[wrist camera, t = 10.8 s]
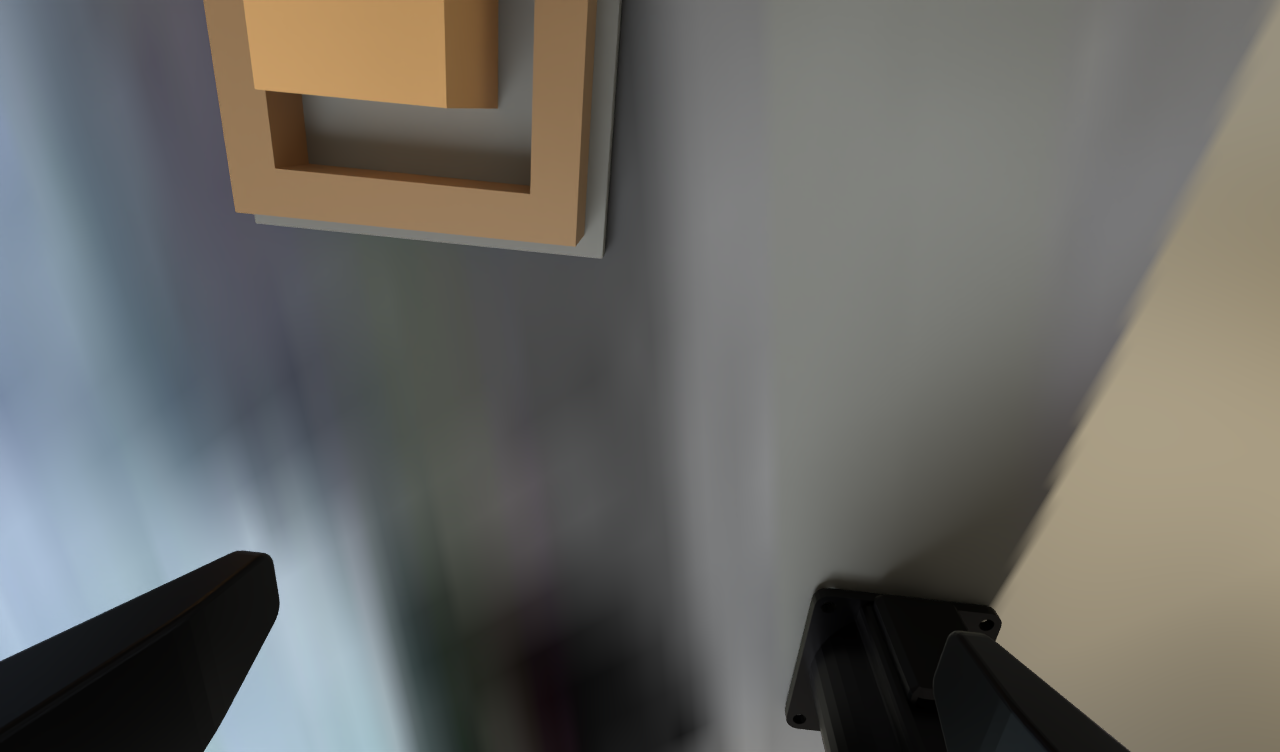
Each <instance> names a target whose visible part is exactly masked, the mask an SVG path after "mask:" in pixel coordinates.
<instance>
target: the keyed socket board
mask: <svg viewBox="0 0 1280 752" xmlns="http://www.w3.org/2000/svg"><path fill="white" fill-rule="evenodd" d="M203 1H204V7H205V14H206V21H207V27H208V34H209V40H210V47H211V54H212V60H213V67H214V73H215V80H216V86H217V93H218V100H219V106H220V113H221V119H222V126H223V133H224V139H225V146H226V152H227V159H228V165H229V172H230V179H231V185H232V192H233V198H234V205H235V211H236V212H239V213H249V214H254V215H255V222H256V223H257V224H267V225H277V226H287V227H297V228H306V229H316V230H326V231H336V232H346V233H355V234H365V235H375V236H385V237H395V238H404V239H414V240H424V241H434V242H444V243H453V244H463V245H473V246H483V247H493V248H502V249H512V250H522V251H532V252H542V253H551V254H561V255H571V256H581V257H590V258H600V259H602V258H603V256H604V254H605V239H606V225H607V210H608V196H609V181H610V166H611V152H612V137H613V123H614V108H615V93H616V79H617V64H618V50H619V35H620V20H621V6H622V0H498V109H484V108H439V107H429V106H419V105H409V104H399V103H389V102H379V101H368V100H358V99H348V98H338V97H328V96H318V95H308V94H297V93H287V92H277V91H267V90H257V89H255V88H254V80H253V72H252V65H251V57H250V49H249V42H248V34H247V26H246V19H245V11H244V3H243V0H203Z"/></svg>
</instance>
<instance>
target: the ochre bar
mask: <svg viewBox="0 0 1280 752" xmlns="http://www.w3.org/2000/svg"><path fill="white" fill-rule="evenodd" d="M243 3H244V11H245V19H246V26H247V34H248V42H249V49H250V57H251V65H252V72H253V80H254V88H255V89H257V90H267V91H277V92H287V93H297V94H308V95H318V96H328V97H338V98H348V99H358V100H368V101H379V102H389V103H399V104H409V105H419V106H429V107H439V108H484V109H498V0H243Z"/></svg>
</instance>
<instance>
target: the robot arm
mask: <svg viewBox="0 0 1280 752" xmlns="http://www.w3.org/2000/svg"><path fill="white" fill-rule="evenodd" d="M826 602H832V603H831V604H829V605H823V604H824V603H826ZM279 604H280V602H279V594H278V588H277V582H276V576H275V570H274V564H273V560H272V558H271V557H270V556H269V555H268V554H266V553H260V552H251V551H235V552H232V553H230V554H228V555H226V556H224V557H221V558H219V559H217V560H215V561H213V562H211V563H209V564H206V565H204V566H202V567H200V568H198V569H196V570H194V571H192V572H189V573H187V574H185V575H183V576H181V577H179V578H177V579H175V580H172V581H170V582H168V583H166V584H164V585H162V586H160V587H158V588H155V589H153V590H151V591H149V592H147V593H145V594H143V595H140V596H138V597H136V598H134V599H132V600H130V601H128V602H126V603H123V604H121V605H119V606H117V607H115V608H113V609H111V610H108V611H106V612H104V613H102V614H100V615H98V616H96V617H94V618H91V619H89V620H87V621H85V622H83V623H81V624H79V625H77V626H74V627H72V628H70V629H68V630H66V631H64V632H62V633H59V634H57V635H55V636H53V637H51V638H49V639H47V640H45V641H42V642H40V643H38V644H36V645H34V646H32V647H30V648H27V649H25V650H23V651H21V652H19V653H17V654H15V655H13V656H10V657H8V658H6V659H4V660H2V661H0V752H204V750H205V749H206V747H207V745H208V744H209V742H210V741H211V739H212V738H213V736H214V734H215V733H216V731H217V729H218V727H219V726H220V724H221V722H222V720H223V719H224V717H225V715H226V713H227V711H228V710H229V708H230V706H231V704H232V702H233V700H234V698H235V696H236V694H237V693H238V691H239V689H240V687H241V685H242V683H243V681H244V679H245V677H246V675H247V674H248V672H249V670H250V668H251V666H252V664H253V662H254V660H255V658H256V657H257V655H258V653H259V651H260V649H261V647H262V645H263V643H264V641H265V639H266V638H267V636H268V634H269V632H270V630H271V628H272V626H273V624H274V622H275V620H276V618H277V615H278V611H279ZM983 620H987V621H985V622H981V621H983ZM1001 624H1002V622H1001V620H1000V618H999V616H998V615H997V613H996V611H995V610H994V609H993V608H991V607H988V606H983V605H974V604H965V603H956V602H947V601H938V600H929V599H920V598H911V597H902V596H893V595H884V594H875V593H866V592H857V591H848V590H839V589H830V588H826V589H821V590H818V591H817V592H816V593H815V594H814V595H813V597H812V601H811V605H810V609H809V613H808V617H807V621H806V625H805V629H804V633H803V638H802V642H801V646H800V650H799V654H798V658H797V662H796V666H795V670H794V674H793V678H792V682H791V686H790V690H789V694H788V698H787V702H786V707H785V715H786V721H787V723H788V724H789V725H790V726H791V727H794V728H798V729H806V730H815V731H821V735H822V740H823V744H824V749H825V752H1130V751H1129V750H1128V749H1126V747H1124V746H1123V745H1122V744H1121V743H1119V742H1118V741H1117V740H1116V739H1114V738H1113V737H1112V736H1111V735H1110V734H1108V733H1107V732H1106V731H1105V730H1103V729H1102V728H1101V727H1100V726H1099V725H1097V724H1096V723H1095V722H1094V721H1092V720H1091V719H1090V718H1089V717H1087V716H1086V715H1085V714H1084V713H1083V712H1081V711H1080V710H1079V709H1078V708H1076V707H1075V706H1074V705H1073V704H1071V703H1070V702H1069V701H1068V700H1067V699H1065V698H1064V697H1063V696H1062V695H1060V694H1059V693H1058V692H1057V691H1055V690H1054V689H1053V688H1052V687H1050V686H1049V685H1048V684H1047V683H1046V682H1045V681H1043V680H1042V679H1041V678H1039V677H1038V676H1037V675H1036V674H1035V673H1033V672H1032V671H1031V670H1030V669H1029V668H1027V667H1026V666H1025V665H1024V664H1022V663H1021V662H1020V661H1019V660H1018V659H1016V658H1015V657H1014V656H1013V655H1011V654H1010V653H1009V652H1008V651H1006V650H1005V649H1004V648H1003V647H1002V646H1000V645H999V644H998V643H996V642H995V641H996V638H997V636H998V633H999V631H1000V628H1001ZM800 714H801V715H800Z"/></svg>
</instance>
